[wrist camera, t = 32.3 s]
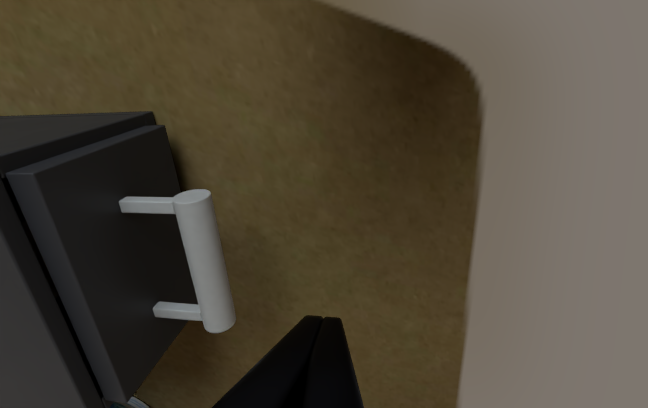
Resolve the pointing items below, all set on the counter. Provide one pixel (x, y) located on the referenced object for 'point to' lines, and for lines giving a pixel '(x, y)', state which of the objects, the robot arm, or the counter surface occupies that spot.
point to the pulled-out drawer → (125, 252)
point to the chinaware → (130, 404)
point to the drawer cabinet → (28, 277)
